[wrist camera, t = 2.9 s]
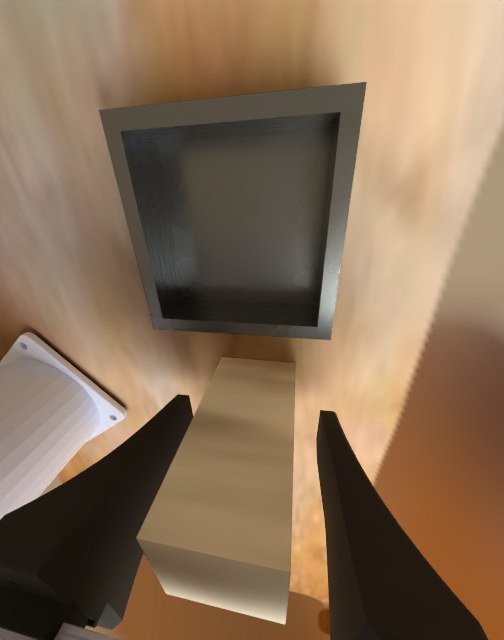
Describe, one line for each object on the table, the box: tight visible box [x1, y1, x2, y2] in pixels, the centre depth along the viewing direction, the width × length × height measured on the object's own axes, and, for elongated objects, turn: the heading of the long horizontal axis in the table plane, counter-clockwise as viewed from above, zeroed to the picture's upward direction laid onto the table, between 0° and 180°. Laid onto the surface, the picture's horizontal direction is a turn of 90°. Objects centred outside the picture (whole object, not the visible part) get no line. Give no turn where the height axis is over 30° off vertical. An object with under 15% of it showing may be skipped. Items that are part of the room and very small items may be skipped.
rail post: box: [136, 357, 296, 624], centre depth 10 cm, size 4×4×8 cm
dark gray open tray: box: [99, 82, 366, 340], centre depth 9 cm, size 7×7×2 cm
